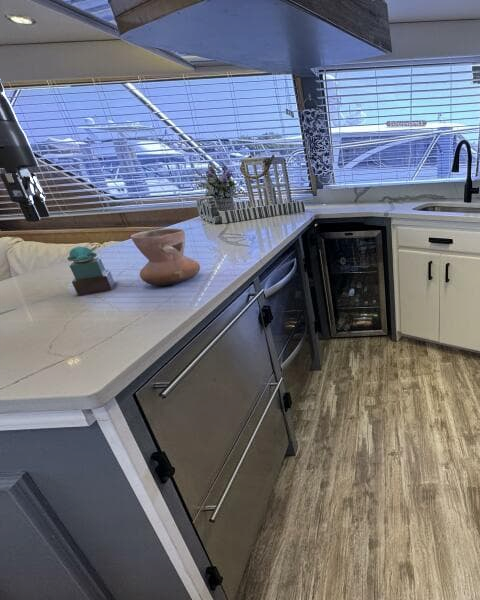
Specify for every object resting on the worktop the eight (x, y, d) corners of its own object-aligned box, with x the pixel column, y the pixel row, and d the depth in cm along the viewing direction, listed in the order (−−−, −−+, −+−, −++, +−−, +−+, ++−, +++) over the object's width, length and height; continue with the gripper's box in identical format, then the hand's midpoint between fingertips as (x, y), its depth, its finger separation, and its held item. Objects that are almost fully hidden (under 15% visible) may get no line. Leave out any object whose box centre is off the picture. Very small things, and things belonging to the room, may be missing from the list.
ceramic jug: (210, 280, 92) (195, 231, 87) (149, 295, 83) (129, 241, 78) (193, 268, 104) (180, 224, 99) (139, 280, 95) (120, 232, 90)
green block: (76, 280, 84) (69, 265, 83) (80, 275, 89) (73, 261, 87) (103, 275, 87) (96, 261, 86) (105, 271, 91) (100, 257, 90)
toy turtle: (98, 256, 90) (92, 243, 89) (99, 261, 85) (93, 247, 84) (70, 261, 87) (63, 247, 85) (69, 266, 82) (62, 252, 80)
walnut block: (78, 295, 85) (71, 281, 83) (83, 288, 90) (77, 275, 89) (111, 289, 88) (106, 275, 87) (114, 282, 94) (109, 269, 92)
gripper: (-7, 146, 74) (26, 217, 81) (-36, 142, 64) (6, 224, 70) (38, 146, 78) (67, 214, 85) (18, 142, 68) (53, 220, 74)
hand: (39, 219), depth 77 cm, fingers open, 8 cm apart
